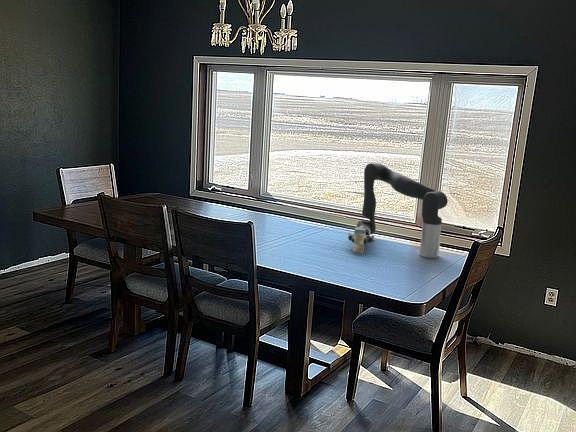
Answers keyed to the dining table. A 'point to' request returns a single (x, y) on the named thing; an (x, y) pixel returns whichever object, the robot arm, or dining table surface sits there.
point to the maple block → (359, 240)
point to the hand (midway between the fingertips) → (358, 241)
